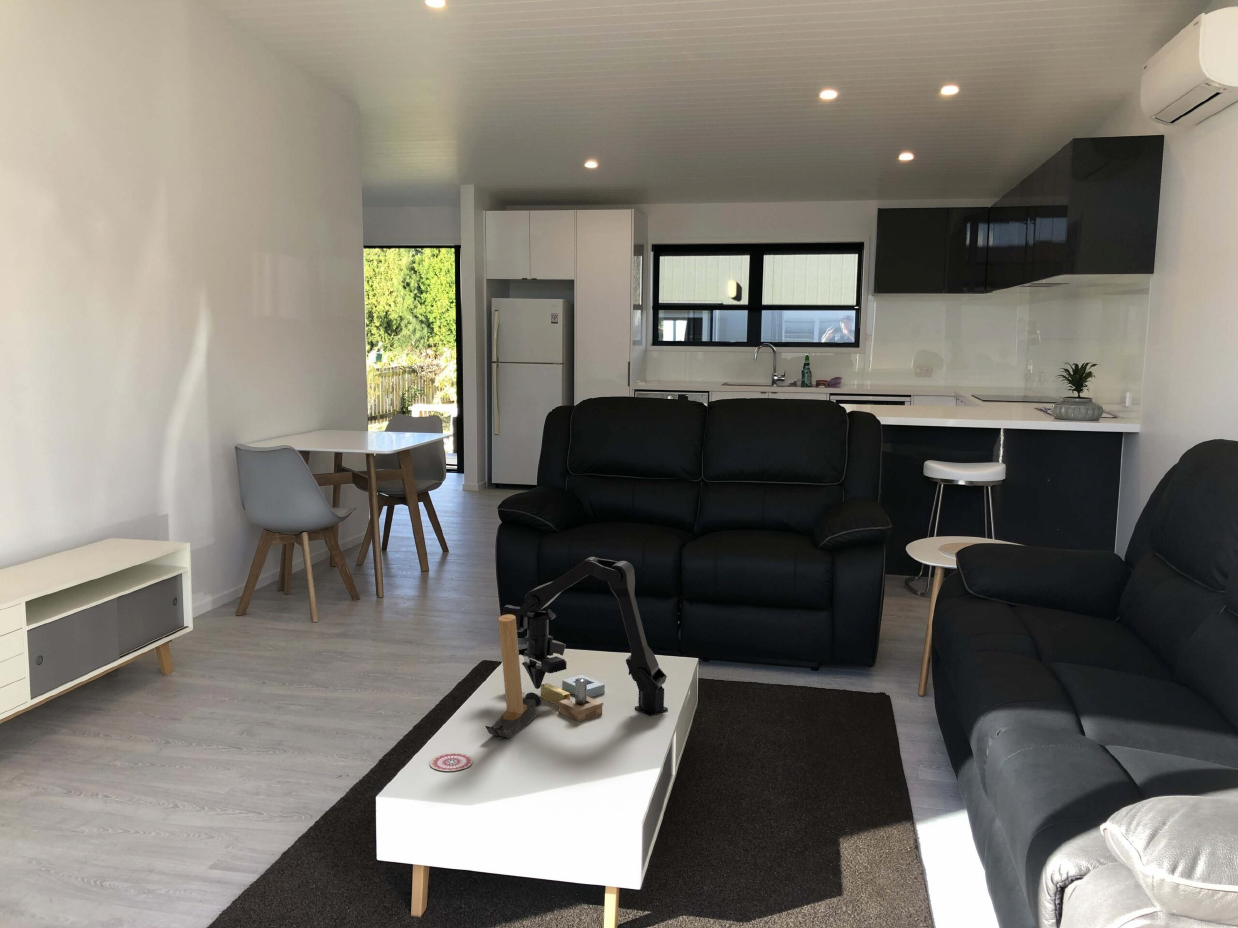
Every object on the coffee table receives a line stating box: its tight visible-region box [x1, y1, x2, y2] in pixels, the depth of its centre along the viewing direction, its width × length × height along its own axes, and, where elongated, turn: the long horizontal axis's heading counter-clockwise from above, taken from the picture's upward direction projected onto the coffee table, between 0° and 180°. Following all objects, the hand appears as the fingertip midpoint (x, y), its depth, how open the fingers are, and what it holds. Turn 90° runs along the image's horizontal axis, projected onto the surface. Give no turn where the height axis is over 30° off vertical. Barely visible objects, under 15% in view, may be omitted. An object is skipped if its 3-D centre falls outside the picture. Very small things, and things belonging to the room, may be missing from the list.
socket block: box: [558, 696, 603, 723], centre depth 239 cm, size 8×8×3 cm
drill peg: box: [574, 678, 587, 706], centre depth 239 cm, size 3×3×9 cm
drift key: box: [540, 682, 571, 706], centre depth 247 cm, size 10×2×4 cm, turn 42°
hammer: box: [485, 614, 542, 739], centre depth 226 cm, size 20×5×30 cm, turn 158°
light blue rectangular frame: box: [561, 674, 606, 698], centre depth 256 cm, size 10×7×2 cm
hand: (537, 688), depth 253 cm, fingers closed
